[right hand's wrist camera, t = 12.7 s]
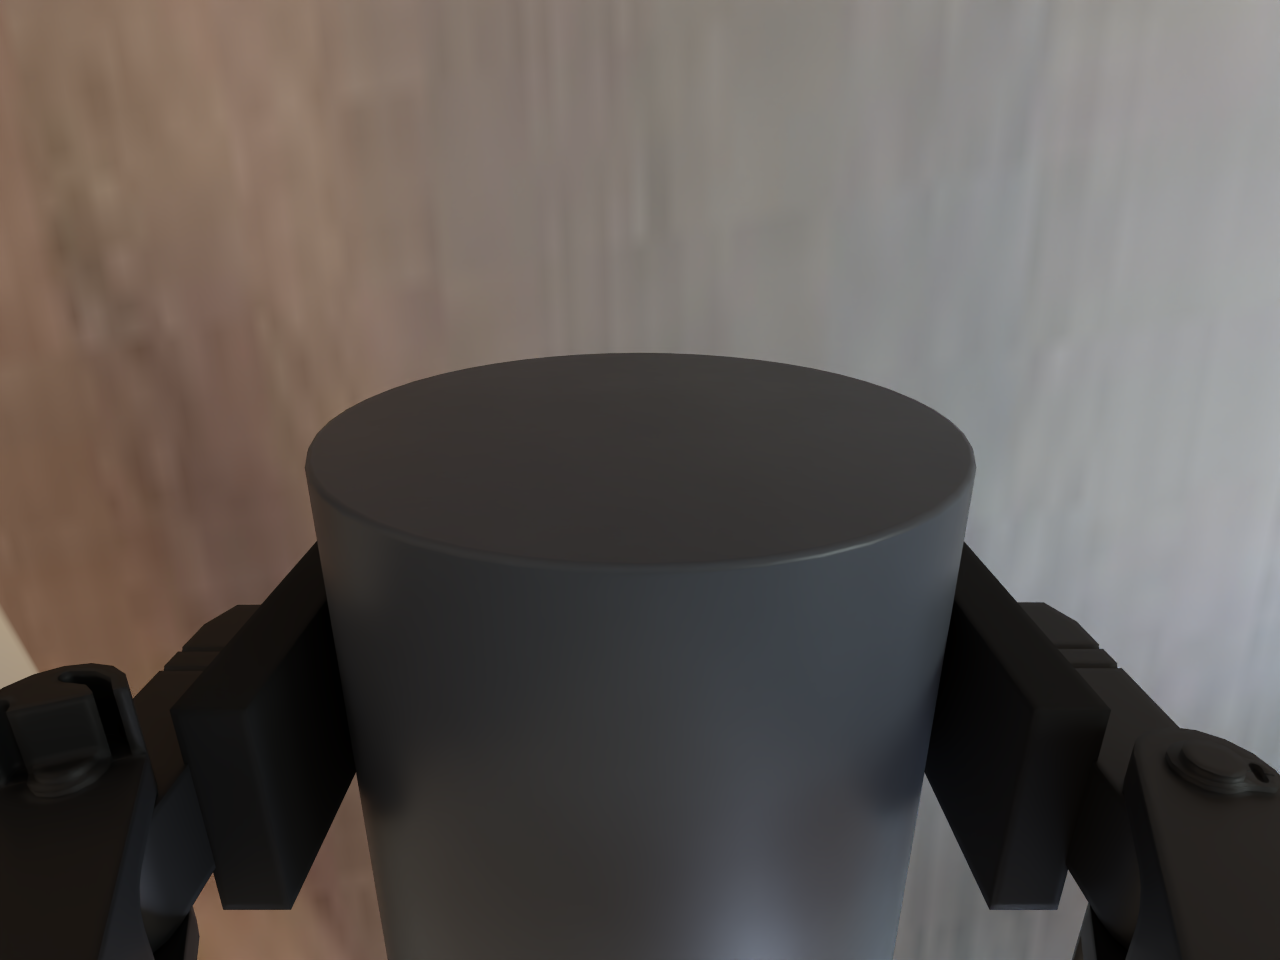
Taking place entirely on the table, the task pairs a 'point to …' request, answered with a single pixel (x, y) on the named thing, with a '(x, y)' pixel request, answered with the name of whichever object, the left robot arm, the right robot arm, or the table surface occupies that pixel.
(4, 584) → the table surface
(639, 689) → the rod
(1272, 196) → the table surface
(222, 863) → the right robot arm
